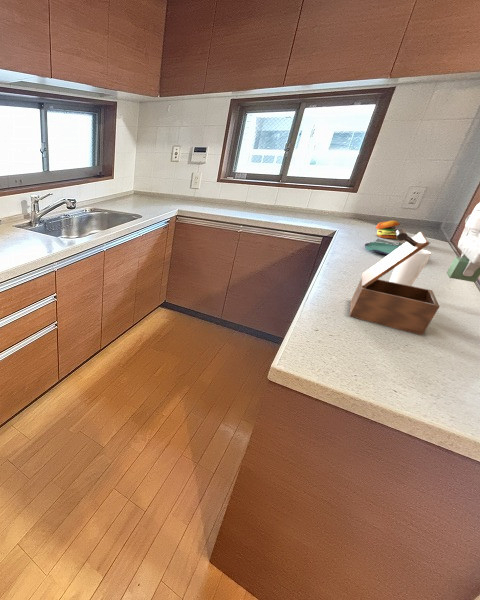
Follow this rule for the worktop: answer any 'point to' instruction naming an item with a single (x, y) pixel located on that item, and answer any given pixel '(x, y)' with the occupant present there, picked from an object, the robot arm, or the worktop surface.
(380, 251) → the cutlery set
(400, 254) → the lid
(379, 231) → the cheeseburger
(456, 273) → the block
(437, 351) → the worktop surface
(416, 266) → the white tapered cylinder
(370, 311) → the chest
